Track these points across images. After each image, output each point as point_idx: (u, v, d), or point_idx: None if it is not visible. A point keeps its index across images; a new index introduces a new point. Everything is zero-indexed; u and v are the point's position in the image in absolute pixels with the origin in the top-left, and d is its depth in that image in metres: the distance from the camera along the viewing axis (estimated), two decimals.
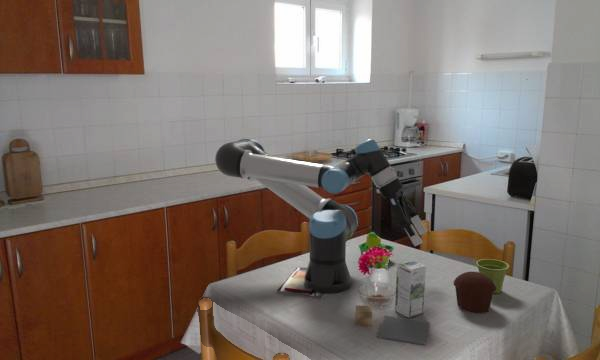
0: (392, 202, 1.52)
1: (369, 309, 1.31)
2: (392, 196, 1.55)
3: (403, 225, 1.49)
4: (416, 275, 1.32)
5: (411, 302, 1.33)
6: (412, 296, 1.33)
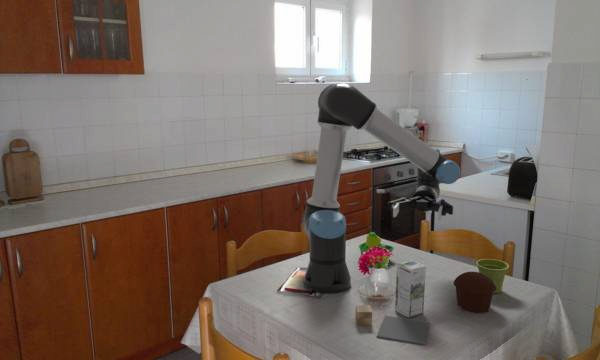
0: None
1: (369, 309, 1.31)
2: None
3: (452, 209, 1.46)
4: (416, 275, 1.32)
5: (411, 302, 1.33)
6: (412, 296, 1.33)
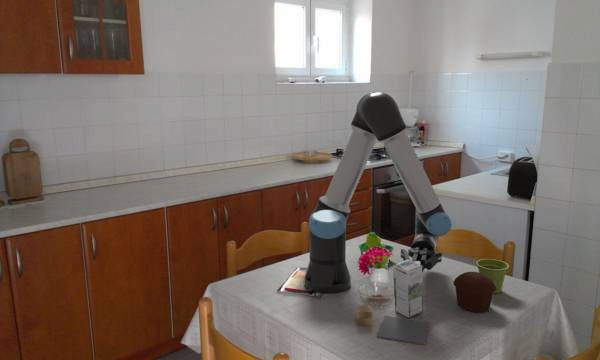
0: (440, 257, 1.49)
1: (369, 309, 1.31)
2: None
3: (430, 265, 1.43)
4: (413, 275, 1.32)
5: (410, 302, 1.33)
6: (410, 296, 1.32)
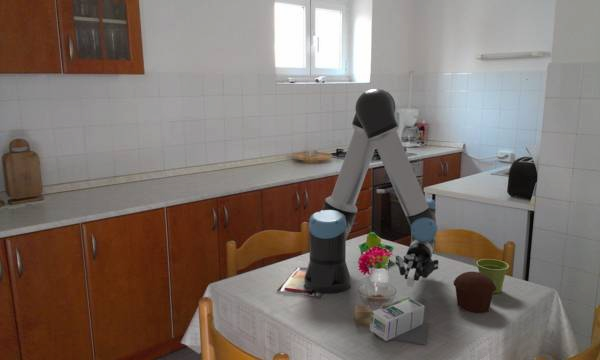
0: (436, 264, 1.43)
1: (368, 309, 1.31)
2: None
3: (425, 272, 1.37)
4: None
5: None
6: None
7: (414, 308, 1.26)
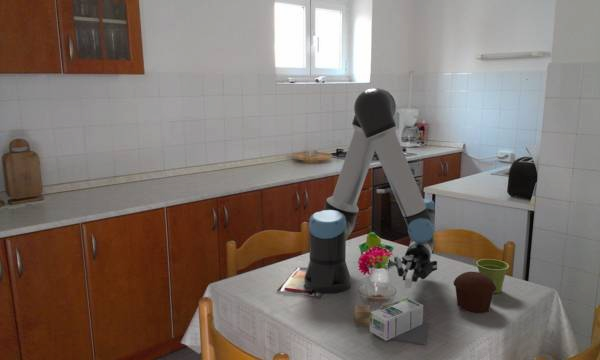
0: (435, 265, 1.42)
1: (368, 309, 1.31)
2: None
3: (424, 274, 1.36)
4: None
5: None
6: None
7: (413, 307, 1.27)
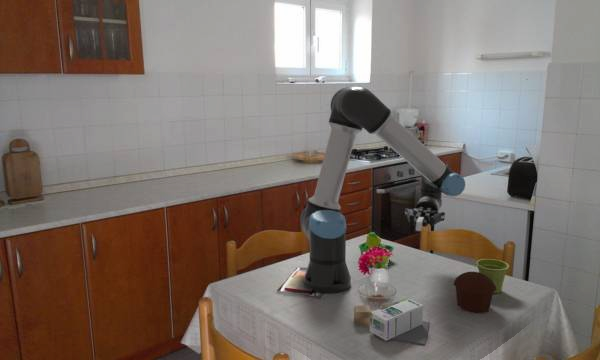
0: (443, 216, 1.54)
1: (368, 309, 1.31)
2: None
3: (433, 221, 1.48)
4: None
5: None
6: None
7: (413, 307, 1.27)
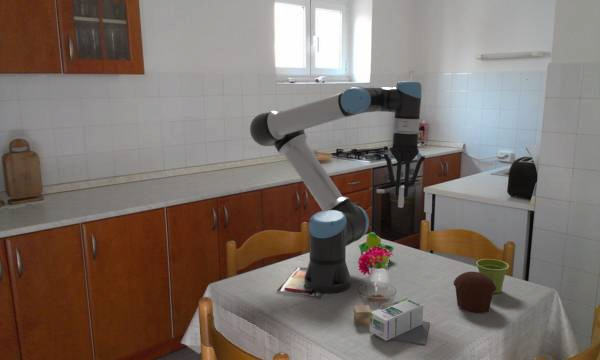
0: None
1: (368, 309, 1.31)
2: None
3: None
4: None
5: None
6: None
7: (413, 307, 1.27)
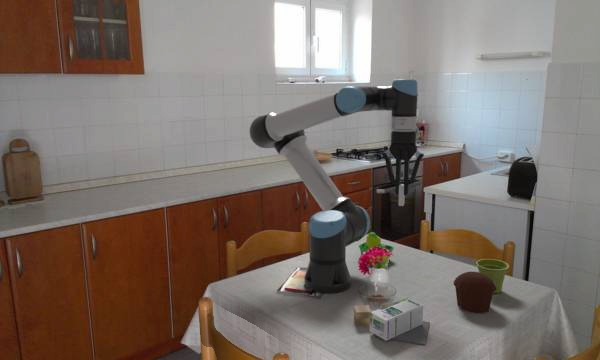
0: None
1: (368, 309, 1.31)
2: None
3: None
4: None
5: None
6: None
7: (413, 307, 1.27)
